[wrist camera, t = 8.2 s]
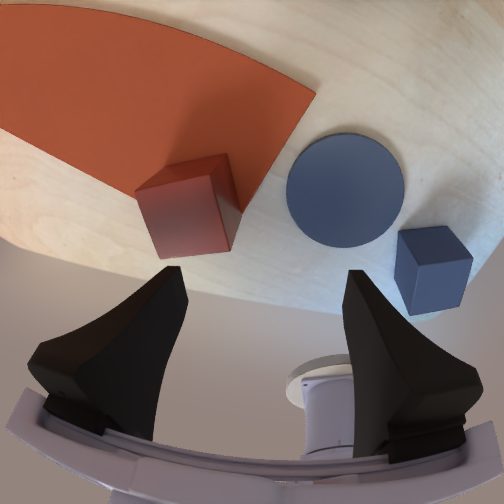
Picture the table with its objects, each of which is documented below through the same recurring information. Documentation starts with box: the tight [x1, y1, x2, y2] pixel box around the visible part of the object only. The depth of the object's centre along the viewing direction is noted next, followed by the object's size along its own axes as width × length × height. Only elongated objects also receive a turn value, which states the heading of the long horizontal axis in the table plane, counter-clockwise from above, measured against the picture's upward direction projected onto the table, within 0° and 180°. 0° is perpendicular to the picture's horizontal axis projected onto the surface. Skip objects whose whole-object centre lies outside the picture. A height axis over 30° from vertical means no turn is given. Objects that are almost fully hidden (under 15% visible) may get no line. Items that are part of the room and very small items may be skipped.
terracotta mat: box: [0, 4, 316, 214], centre depth 14 cm, size 40×12×1 cm, turn 62°
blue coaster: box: [286, 133, 404, 248], centre depth 18 cm, size 8×8×1 cm
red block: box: [134, 153, 242, 259], centre depth 17 cm, size 4×4×4 cm
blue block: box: [394, 226, 473, 316], centre depth 18 cm, size 4×4×4 cm
